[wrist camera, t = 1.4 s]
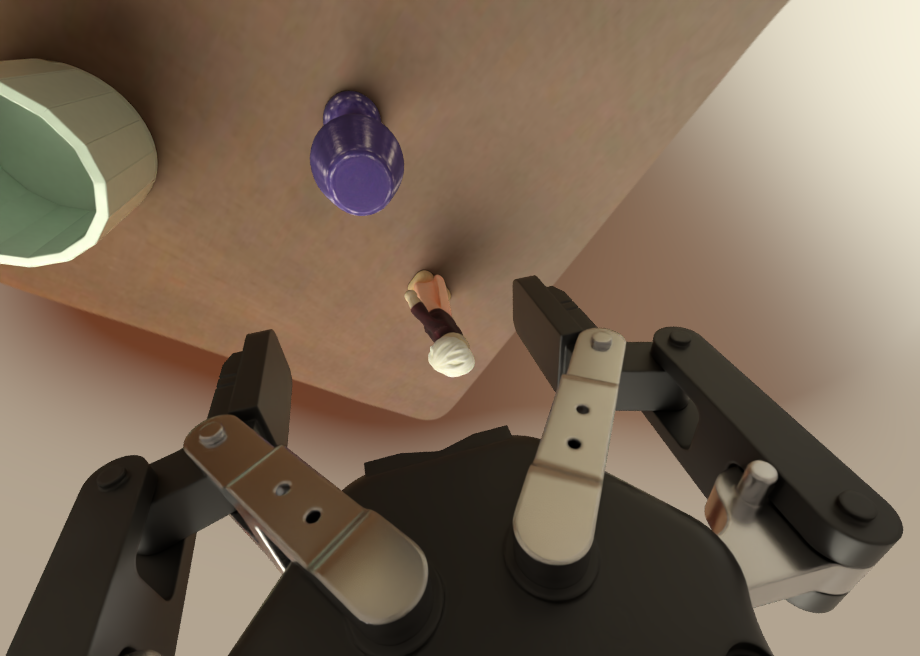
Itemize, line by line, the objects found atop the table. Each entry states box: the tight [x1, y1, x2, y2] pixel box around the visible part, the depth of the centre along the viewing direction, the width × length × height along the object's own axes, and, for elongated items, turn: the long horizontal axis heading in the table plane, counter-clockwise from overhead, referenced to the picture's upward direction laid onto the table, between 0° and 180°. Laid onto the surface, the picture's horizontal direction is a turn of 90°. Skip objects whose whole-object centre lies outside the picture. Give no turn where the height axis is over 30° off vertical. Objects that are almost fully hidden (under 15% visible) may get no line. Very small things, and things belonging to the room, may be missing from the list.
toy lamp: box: [310, 91, 404, 216], centre depth 26 cm, size 5×5×17 cm
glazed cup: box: [0, 58, 158, 267], centre depth 25 cm, size 10×10×9 cm
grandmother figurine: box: [405, 270, 475, 377], centre depth 37 cm, size 8×4×13 cm, turn 49°
